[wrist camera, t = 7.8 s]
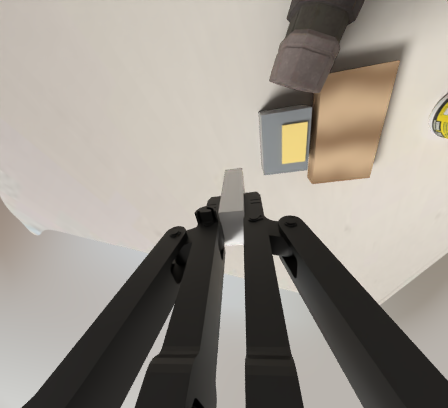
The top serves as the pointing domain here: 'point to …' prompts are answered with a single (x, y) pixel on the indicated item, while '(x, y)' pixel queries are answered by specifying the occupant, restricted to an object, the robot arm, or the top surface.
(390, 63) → the board
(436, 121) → the pill bottle
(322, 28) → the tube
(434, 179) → the top surface
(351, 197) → the top surface
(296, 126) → the block
